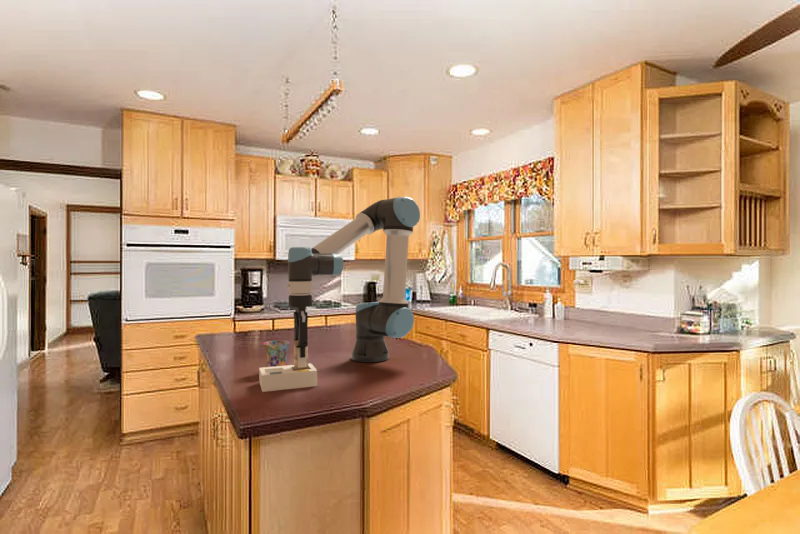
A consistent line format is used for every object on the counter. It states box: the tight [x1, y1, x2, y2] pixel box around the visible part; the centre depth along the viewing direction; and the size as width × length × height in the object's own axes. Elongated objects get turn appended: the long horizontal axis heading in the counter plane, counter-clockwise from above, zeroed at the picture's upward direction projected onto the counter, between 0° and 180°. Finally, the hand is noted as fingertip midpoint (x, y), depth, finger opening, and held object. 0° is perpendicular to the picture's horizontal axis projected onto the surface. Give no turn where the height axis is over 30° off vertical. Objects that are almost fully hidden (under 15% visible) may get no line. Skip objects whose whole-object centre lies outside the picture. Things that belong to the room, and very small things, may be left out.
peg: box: [293, 340, 309, 371], centre depth 150 cm, size 4×4×11 cm
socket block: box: [258, 363, 318, 393], centre depth 149 cm, size 17×11×5 cm, turn 111°
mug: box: [262, 340, 290, 367], centre depth 167 cm, size 12×9×11 cm
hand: (300, 365), depth 150 cm, fingers closed on peg, 4 cm apart
